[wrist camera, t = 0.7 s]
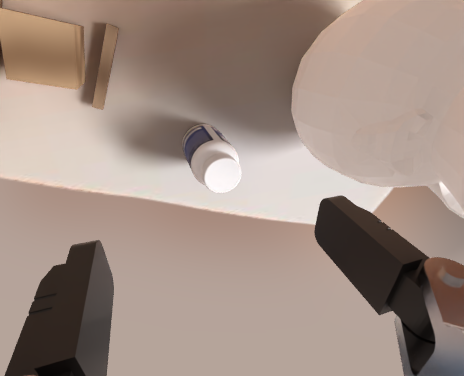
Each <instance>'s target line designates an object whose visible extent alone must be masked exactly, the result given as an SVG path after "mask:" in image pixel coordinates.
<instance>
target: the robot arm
mask: <svg viewBox="0 0 464 376" xmlns="http://www.w3.org/2000/svg"><path fill="white" fill-rule="evenodd" d="M315 237H316V240H317V242H318V244H319V245H320V246H321V247H322V249H323V250H324V251H325V252H326V254H327V255H328V256H329V257H330V258H331V259H332V260H333V262H334V263H335V264H336V265H337V266H338V268H339V269H340V270H341V271H342V272H343V273H344V275H345V276H346V277H347V278H348V279H349V280H350V282H351V283H352V284H353V285H354V286H355V287H356V289H357V290H358V291H359V292H360V293H361V294H362V295H363V297H364V298H365V299H366V300H367V301H368V303H369V304H370V305H371V306H372V307H373V308H374V309H375V311H376V312H377V313H378V314H379V315H381V314H384V313H387V312H389V311H394V313H395V314H396V315H397V316H396V318H395V328H396V333H397V339H398V344H399V350H400V356H401V362H402V367H403V372H404V376H464V265H462V264H460V263H458V262H456V261H453V260H450V259H447V258H441V257H432V258H429V257H427V256H426V255H425V254H424V253H422V252H421V251H420V250H418V249H417V248H416V247H414V246H413V245H412V244H411V243H409V242H408V241H407V240H405V239H404V238H403V237H401V236H400V235H399V234H398V233H396V232H395V231H394V230H391V229H390V227H389V226H387V225H386V224H385V223H384V222H383V223H382V222H381V220H380V219H378V218H377V217H376V216H375V215H373V214H372V213H371V212H369V211H367V210H365V209H362V208H360V207H358V206H356V205H355V204H353V203H352V202H351V201H350V200H348V199H347V198H346V197H344V196H336V197H330V198H325V199H323V200H322V201H321V203H320V206H319V211H318V216H317V221H316V225H315ZM113 295H114V285H113V277H112V273H111V270H110V267H109V264H108V261H107V258H106V255H105V252H104V249H103V247H102V244H101V242H100V241H99V240H96V241H91V242H86V243H80V244H75V245H72V246H71V248H70V251H69V254H68V257H67V261H66V264H61V265H56V266H53V268H52V269H51V270H50V271H49V272H48V273H47V275H46V276H45V277H44V278H43V279H42V280H41V282H40V284H39V287H38V289H37V292H36V295H35V297H34V302H33V303H32V305H31V308H30V310H29V316H27V318H26V321H25V324H24V326H23V329H22V331H21V334H20V337H19V339H18V342H17V344H16V347H15V350H14V352H13V355H12V358H11V360H10V363H9V365H8V368H7V371H6V373H5V376H106V375H107V365H108V353H109V341H110V329H111V318H112V306H113Z"/></svg>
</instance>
